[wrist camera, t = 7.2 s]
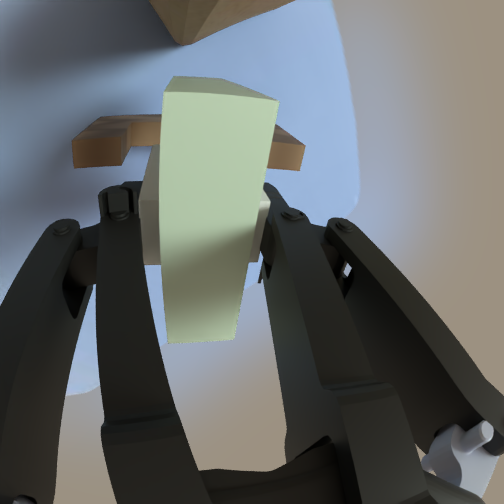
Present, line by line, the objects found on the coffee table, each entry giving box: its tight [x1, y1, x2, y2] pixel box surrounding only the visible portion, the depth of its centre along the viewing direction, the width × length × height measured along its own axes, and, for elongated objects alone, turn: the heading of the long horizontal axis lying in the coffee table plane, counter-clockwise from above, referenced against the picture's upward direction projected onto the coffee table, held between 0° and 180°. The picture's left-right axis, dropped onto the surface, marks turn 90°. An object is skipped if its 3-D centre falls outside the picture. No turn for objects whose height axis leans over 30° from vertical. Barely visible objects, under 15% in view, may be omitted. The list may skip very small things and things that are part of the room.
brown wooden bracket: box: [72, 114, 305, 171], centre depth 20 cm, size 16×2×8 cm, turn 81°
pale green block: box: [159, 76, 280, 343], centre depth 13 cm, size 10×3×11 cm, turn 171°
